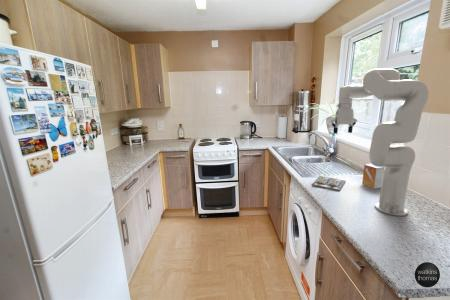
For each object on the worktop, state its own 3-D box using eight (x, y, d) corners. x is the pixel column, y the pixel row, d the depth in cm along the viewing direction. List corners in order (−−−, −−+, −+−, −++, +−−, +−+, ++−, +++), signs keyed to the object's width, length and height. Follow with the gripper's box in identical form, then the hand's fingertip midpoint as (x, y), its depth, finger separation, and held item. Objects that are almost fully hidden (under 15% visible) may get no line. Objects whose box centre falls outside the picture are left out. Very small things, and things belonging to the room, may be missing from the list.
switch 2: (335, 186, 130) (336, 179, 129) (329, 185, 132) (330, 178, 131) (336, 185, 132) (337, 177, 131) (331, 184, 134) (331, 176, 133)
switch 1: (323, 184, 134) (323, 176, 133) (318, 183, 136) (318, 175, 135) (324, 182, 136) (325, 175, 135) (319, 181, 138) (319, 174, 137)
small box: (361, 184, 135) (364, 164, 132) (369, 182, 137) (371, 163, 134) (374, 188, 128) (376, 167, 125) (382, 187, 129) (384, 166, 127)
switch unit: (339, 191, 126) (340, 187, 125) (311, 185, 135) (311, 182, 135) (345, 182, 139) (345, 178, 139) (319, 177, 149) (319, 174, 149)
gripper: (334, 107, 133) (332, 134, 136) (362, 106, 133) (359, 133, 137) (328, 106, 140) (326, 132, 144) (354, 105, 141) (351, 131, 144)
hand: (342, 133), depth 140 cm, fingers open, 9 cm apart
